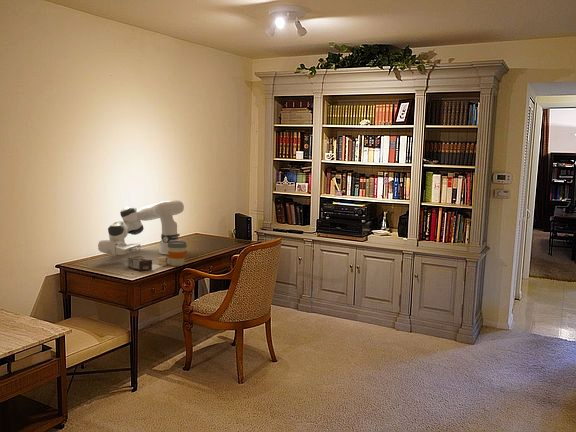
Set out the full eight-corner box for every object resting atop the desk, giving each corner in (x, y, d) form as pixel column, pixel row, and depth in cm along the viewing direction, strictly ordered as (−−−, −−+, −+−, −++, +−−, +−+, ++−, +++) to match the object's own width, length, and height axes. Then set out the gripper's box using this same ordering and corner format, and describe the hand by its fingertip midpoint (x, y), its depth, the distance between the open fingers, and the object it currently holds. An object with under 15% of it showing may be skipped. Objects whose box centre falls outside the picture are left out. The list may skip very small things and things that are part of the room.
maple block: (160, 263, 354) (160, 256, 353) (167, 263, 354) (167, 256, 353) (158, 265, 349) (158, 258, 348) (165, 265, 349) (165, 258, 348)
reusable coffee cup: (189, 265, 350) (189, 243, 349) (171, 267, 343) (171, 244, 342) (182, 262, 361) (182, 240, 359) (164, 263, 354) (164, 241, 352)
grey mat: (144, 264, 351) (144, 263, 351) (163, 265, 347) (163, 265, 347) (132, 268, 338) (132, 268, 338) (152, 270, 334) (152, 270, 334)
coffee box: (127, 266, 340) (138, 271, 329) (127, 256, 340) (139, 261, 328) (140, 265, 347) (152, 269, 335) (140, 255, 346) (152, 259, 334)
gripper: (129, 249, 357) (147, 251, 353) (111, 255, 337) (130, 257, 334) (129, 240, 356) (147, 242, 352) (111, 245, 336) (130, 247, 333)
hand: (139, 249), depth 343 cm, fingers closed
